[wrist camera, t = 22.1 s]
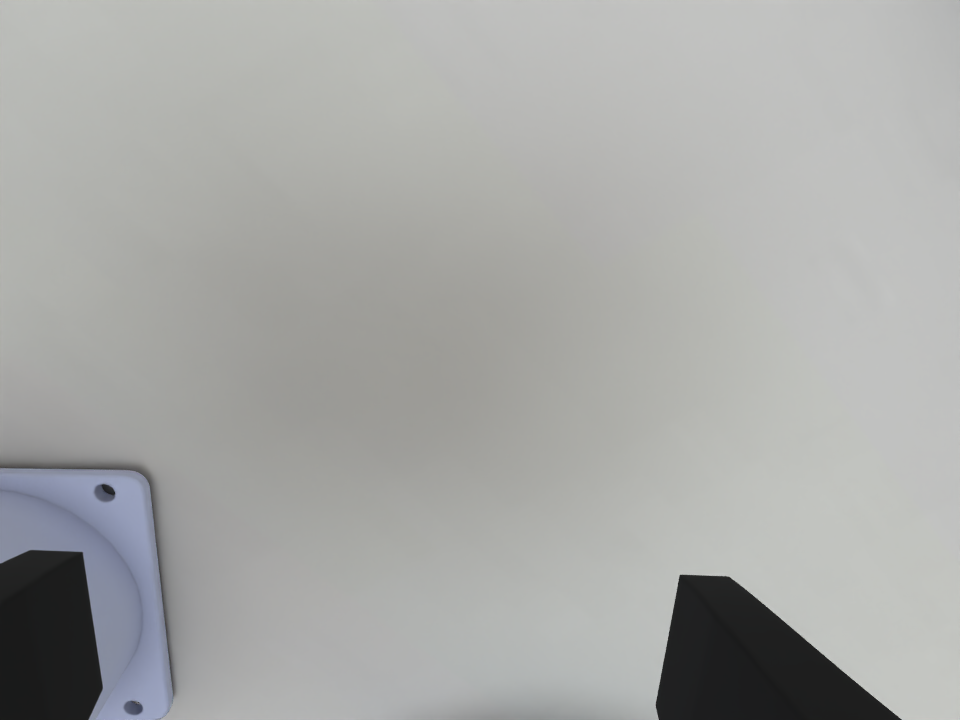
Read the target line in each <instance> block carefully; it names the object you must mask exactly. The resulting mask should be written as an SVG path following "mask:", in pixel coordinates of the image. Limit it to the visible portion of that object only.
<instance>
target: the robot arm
mask: <svg viewBox="0 0 960 720" xmlns="http://www.w3.org/2000/svg"><path fill="white" fill-rule="evenodd" d="M102 484H106V485H109V486H111V487H112V488H113V489H114V491H115V495H111V494H107V493H106V492H105V491H104V490H103V488H102V486H101V485H102ZM132 701H137V702H139V703H140V704H135V703H134V702H132ZM172 703H173V691H172V682H171V673H170V664H169V655H168V646H167V637H166V628H165V619H164V610H163V601H162V592H161V583H160V574H159V565H158V556H157V547H156V538H155V529H154V520H153V511H152V502H151V493H150V486H149V483H148V481H147V479H146V478H145V477H144V476H143V475H142V474H140V473H138V472H136V471H131V470H95V469H29V468H0V720H156V719H161V718H163V717H164V716H166V714H167V713H168V712H169V710H170V708H171V706H172ZM656 709H657V713H658V718H659V720H901V719H900V718H899V717H898V716H896V715H895V714H894V713H893V712H891V711H890V710H889V709H888V708H887V707H885V706H884V705H883V704H882V703H880V702H879V701H878V700H877V699H875V698H874V697H873V696H872V695H871V694H869V693H868V692H867V691H866V690H865V689H863V688H862V687H861V686H860V685H859V684H857V683H856V682H855V681H854V680H852V679H851V678H850V677H849V676H848V675H846V674H845V673H844V672H843V671H842V670H840V669H839V668H838V667H837V666H836V665H835V664H833V663H832V662H831V661H830V660H829V659H827V658H826V657H825V656H824V655H823V654H821V653H820V652H819V651H818V650H817V649H816V648H814V647H813V646H812V645H811V644H810V643H808V642H807V641H806V640H805V639H804V638H803V637H801V636H800V635H799V634H798V633H797V632H796V631H794V630H793V629H792V628H791V627H790V626H788V625H787V624H786V623H785V622H784V621H783V620H781V619H780V618H779V617H778V616H777V615H776V614H774V613H773V612H772V611H771V610H770V609H768V608H767V607H766V606H765V605H764V604H762V603H761V602H760V601H759V600H758V599H756V598H755V597H754V596H753V595H752V594H750V593H749V592H748V591H747V590H745V589H744V588H743V587H742V586H740V585H739V584H738V583H736V582H735V581H734V580H733V579H731V578H730V577H726V576H700V575H680V577H679V583H678V588H677V593H676V599H675V604H674V609H673V615H672V620H671V626H670V631H669V636H668V642H667V647H666V653H665V658H664V663H663V669H662V674H661V679H660V685H659V690H658V696H657V701H656Z"/></svg>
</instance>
